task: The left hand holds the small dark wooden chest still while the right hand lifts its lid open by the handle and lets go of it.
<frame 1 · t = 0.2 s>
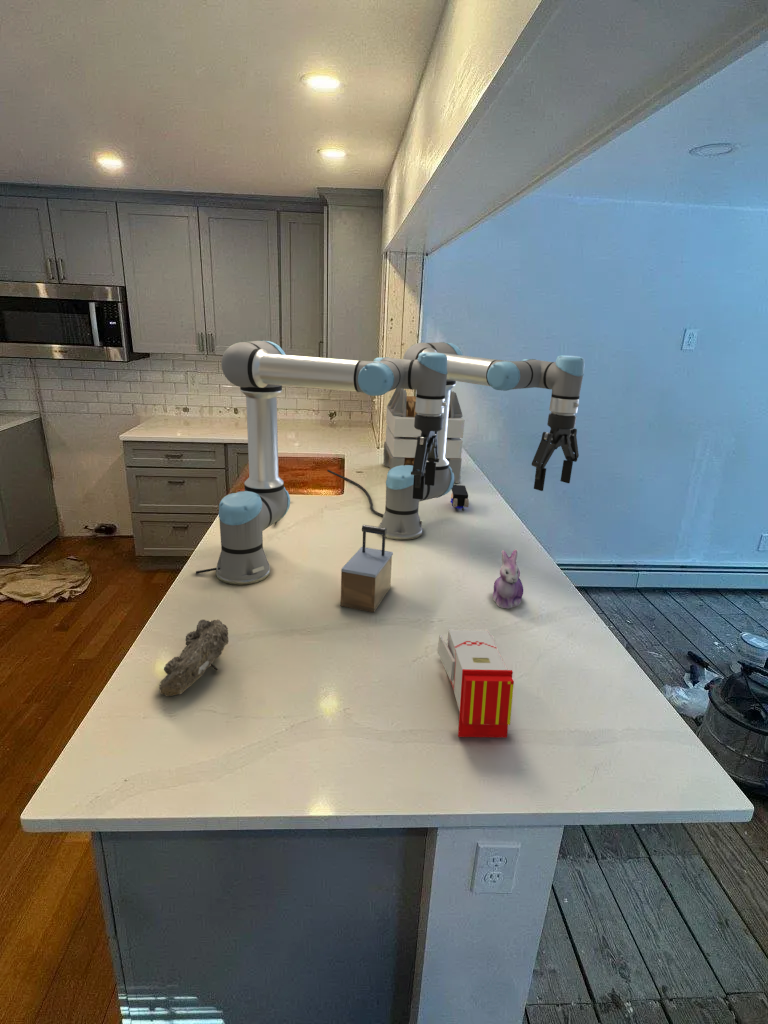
left hand: (423, 491, 155), 28 cm above the counter, tool pointing down, fingers open, 13 cm apart
right hand: (551, 485, 166), 28 cm above the counter, tool pointing down, fingers open, 13 cm apart
feather: (281, 514, 213), on the counter
figurine character: (458, 507, 230), on the counter
chest: (366, 596, 156), on the counter
white slatted crate: (419, 473, 275), on the counter
figurine: (507, 601, 156), on the counter
lid: (368, 547, 151), point 14 cm above the counter, hinge at 0.0°
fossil: (200, 669, 122), on the counter
toy: (469, 691, 119), on the counter
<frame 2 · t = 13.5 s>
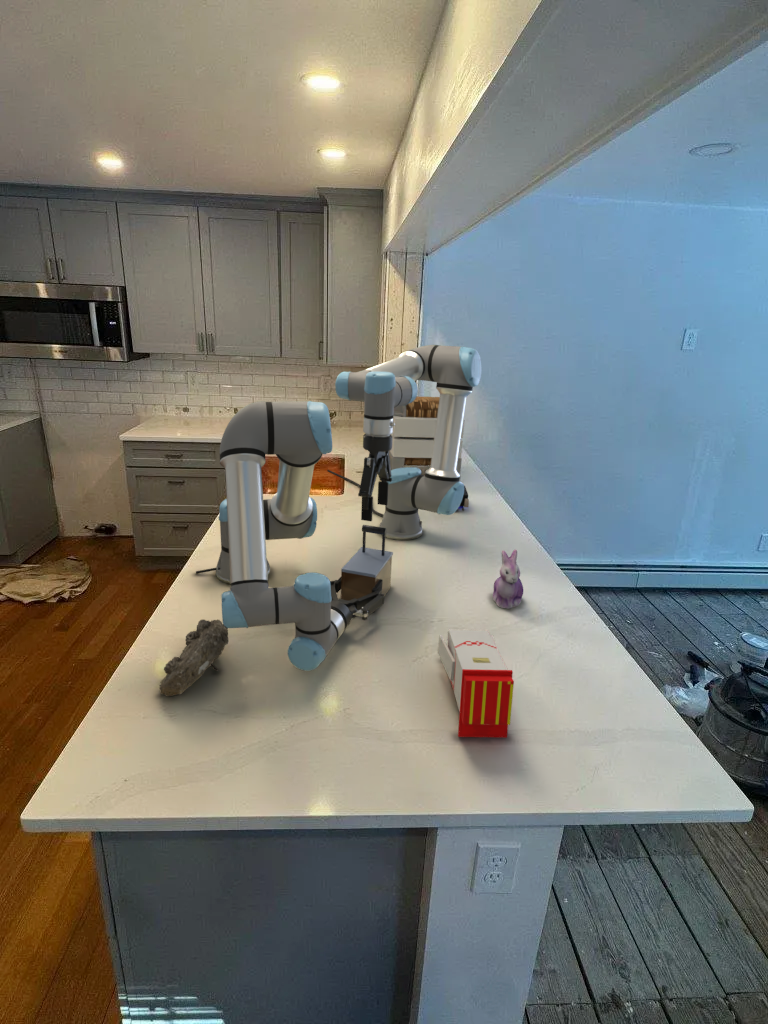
left hand: (362, 580, 150), 6 cm above the counter, tool horizontal, fingers closed on chest, 9 cm apart
right hand: (374, 512, 152), 23 cm above the counter, tool pointing down, fingers open, 13 cm apart
chest: (366, 596, 156), on the counter, touching left hand
everything else where it was.
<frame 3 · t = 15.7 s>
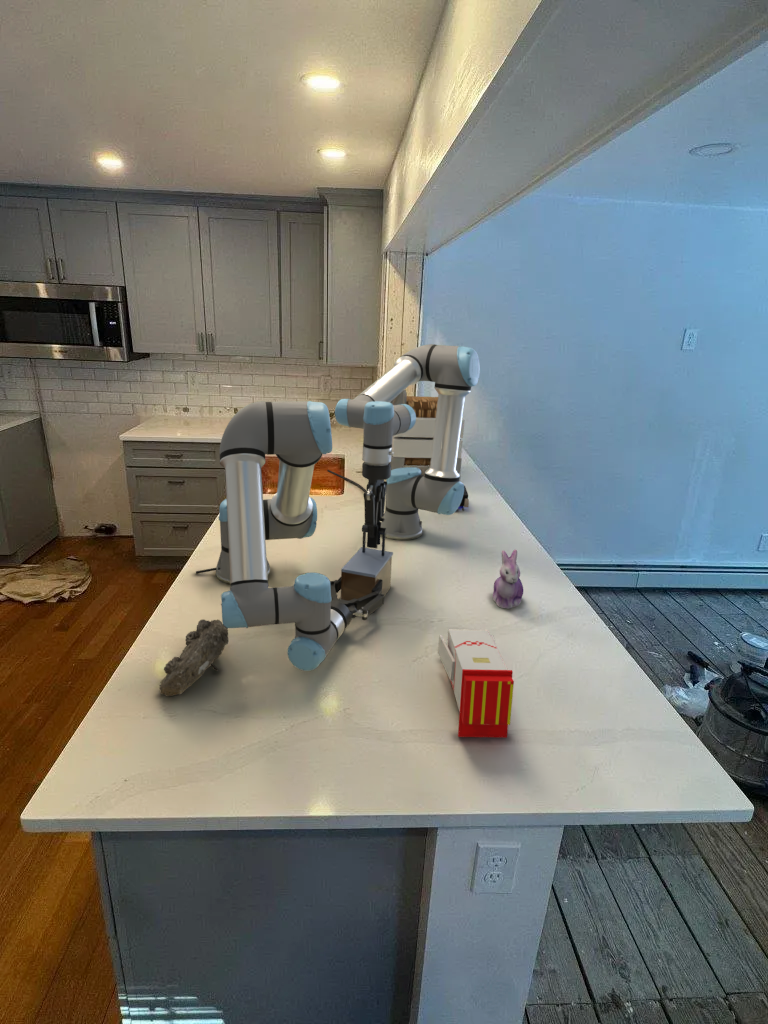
left hand: (362, 580, 150), 6 cm above the counter, tool horizontal, fingers closed on chest, 9 cm apart
right hand: (373, 545, 155), 13 cm above the counter, tool pointing down, fingers closed on lid, 2 cm apart
chest: (366, 596, 156), on the counter, touching left hand
lid: (368, 547, 151), point 14 cm above the counter, hinge at -0.1°, touching right hand
everything else where it was.
when the left hand's fingers open (6 cm above the counter, at t = 22.8 s): chest stays where it is, on the counter.
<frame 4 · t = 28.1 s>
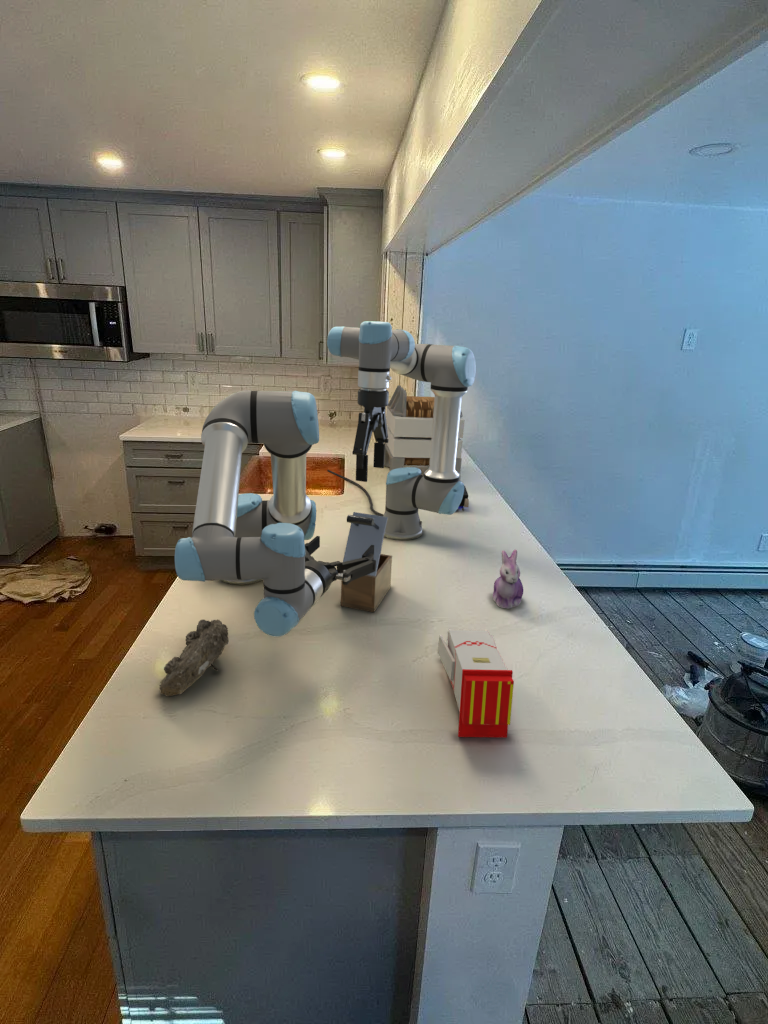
left hand: (345, 545, 133), 22 cm above the counter, tool horizontal, fingers open, 13 cm apart
right hand: (370, 474, 144), 35 cm above the counter, tool pointing down, fingers open, 13 cm apart
chest: (366, 596, 156), on the counter
lid: (360, 540, 143), point 19 cm above the counter, hinge at 57.7°
everything else where it was.
at the end: lid at +58° (first picture: +0°); the left hand is holding nothing; the right hand is holding nothing; chest tilted 0°; chest never tilted more than 1° during the clip; chest moved 0.1 cm from its start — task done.
